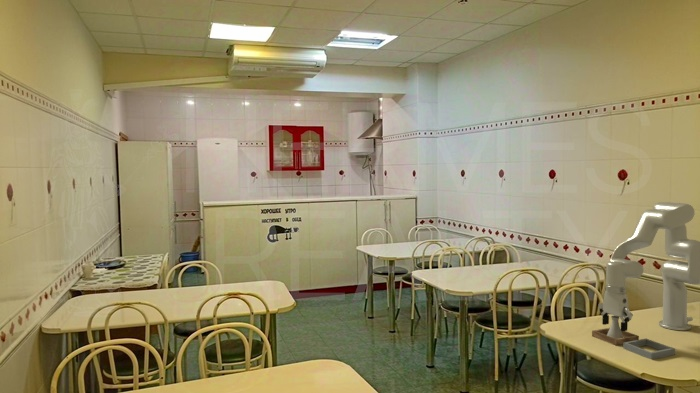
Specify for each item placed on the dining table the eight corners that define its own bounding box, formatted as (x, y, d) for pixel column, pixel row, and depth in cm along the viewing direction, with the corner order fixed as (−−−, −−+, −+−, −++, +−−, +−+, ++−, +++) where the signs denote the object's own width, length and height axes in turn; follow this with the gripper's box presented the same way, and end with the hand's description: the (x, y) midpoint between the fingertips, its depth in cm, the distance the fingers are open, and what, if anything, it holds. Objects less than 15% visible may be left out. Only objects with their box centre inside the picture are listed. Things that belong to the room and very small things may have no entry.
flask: (626, 342, 216) (627, 319, 215) (608, 341, 217) (609, 319, 217) (621, 336, 223) (621, 314, 222) (603, 335, 224) (604, 314, 224)
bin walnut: (613, 332, 228) (613, 327, 228) (638, 341, 216) (638, 335, 216) (592, 336, 224) (592, 330, 224) (616, 345, 212) (616, 339, 212)
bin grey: (645, 344, 213) (646, 338, 213) (674, 354, 201) (674, 348, 201) (623, 348, 209) (623, 342, 208) (651, 359, 196) (651, 353, 196)
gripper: (639, 293, 212) (638, 332, 213) (605, 284, 228) (605, 321, 229) (625, 294, 209) (625, 334, 210) (593, 285, 226) (592, 322, 227)
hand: (614, 327), depth 220 cm, fingers open, 9 cm apart
